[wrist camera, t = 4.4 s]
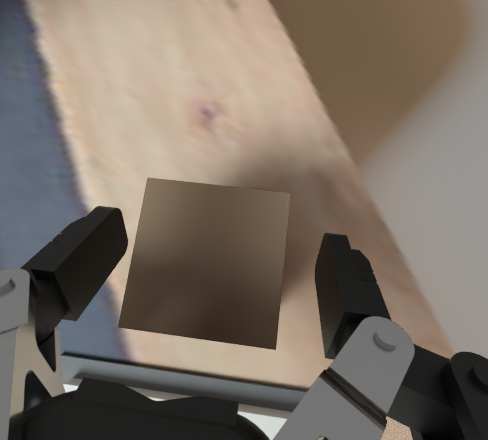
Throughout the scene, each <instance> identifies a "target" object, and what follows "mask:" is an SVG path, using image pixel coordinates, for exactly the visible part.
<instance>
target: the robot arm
mask: <svg viewBox="0 0 488 440" xmlns="http://www.w3.org/2000/svg"><path fill="white" fill-rule="evenodd" d="M127 246H128V238H127V234H126V229H125V225H124V220H123V216H122V212H121V210H120V209H119V208H112V207H104V206H98V207H96V208H95V209H94V210H93V211H91V212H90V213H89V214H88V215H87V216H86V217H82V218H80V219H79V220H77V221H75V222H73V223H71V224H69V225H68V226H67V227H66V228H65V229H64V230H63V231H62V232H61V234H58V235H57V236H56V237H55V238H54V239H53V241H52V242H49V243H48V244H47V245H46V246H45V247H44V248H43V249H41V250H40V251H39V252H38V253H37V254H36V255H35V256H34V257H32V258H31V259H30V260H29V261H28V262H27V263H26V264H25V265H24V266H22V267H21V268H20V269H18V268H14V269H6V270H2V271H0V440H270V439H269V437H268V436H267V435H266V434H265V433H264V432H263V431H262V430H261V429H260V428H259V427H258V426H257V425H256V424H254V423H253V422H252V421H250V420H249V419H247V418H246V417H244V416H242V415H240V414H238V405H239V402H236V401H230V400H224V399H217V398H211V397H205V396H194V397H186V398H178V399H170V400H163V401H155V400H152V399H150V398H148V397H146V396H144V395H142V394H141V393H139V392H137V391H135V390H133V389H131V388H129V387H127V386H125V385H123V384H121V383H116V382H109V381H103V380H97V379H90V378H83V380H82V381H81V383H80V385H79V386H78V388H77V390H74V391H70V392H65V389H64V386H63V382H62V375H61V357H60V338H59V329H58V327H57V325H58V324H59V322H60V321H61V320H62V319H65V320H72V321H77V320H78V318H79V317H80V315H81V314H82V313H83V311H84V310H85V308H86V307H87V306H88V304H89V303H90V301H91V300H92V299H93V297H94V296H95V295H96V293H97V292H98V290H99V289H100V288H101V286H102V285H103V283H104V282H105V281H106V279H107V278H108V276H109V275H110V274H111V272H112V271H113V269H114V268H115V267H116V265H117V264H118V263H119V261H120V260H121V258H122V257H123V256H124V254H125V252H126V250H127ZM376 282H377V281H376V278H375V276H374V274H373V270H372V268H371V265H370V262H369V260H368V259H367V258H366V257H365V256H364V255H363V254H362V253H361V251H360V250H353V249H351V247H350V244H349V241H348V238H347V236H346V235H340V234H331V233H325V234H324V237H323V240H322V243H321V247H320V251H319V254H318V258H317V261H316V266H315V284H316V291H317V299H318V307H319V314H320V322H321V330H322V337H323V345H324V353H325V358H328V359H334V361H333V362H332V364H331V365H330V366H329V368H328V369H327V370H324V371H323V372H322V373H321V374H320V375H319V376H318V378H317V379H316V381H315V382H314V383H313V385H312V386H311V387H310V389H309V390H308V392H307V393H306V394H305V396H304V397H303V398H302V400H301V401H300V403H299V404H298V405H297V407H296V408H295V409H294V411H293V412H292V414H291V415H290V416H289V418H288V419H287V420H286V422H285V423H284V425H283V426H282V427H281V429H280V430H279V432H278V433H277V434H276V436H275V437H274V438H273V440H380V439H381V437H382V435H383V433H384V430H385V427H386V424H387V420H386V416H388V417H390V418H392V419H394V420H396V421H398V422H400V423H402V424H404V425H406V426H408V427H410V430H411V434H412V438H413V440H488V359H486V358H484V357H482V356H480V355H478V354H475V353H471V352H459V353H456V354H455V355H454V356H453V357H452V358H451V359H447V358H445V357H443V356H440V355H438V354H435V353H433V352H430V351H428V350H426V349H423V348H421V347H419V346H417V345H415V344H413V342H412V340H411V338H410V336H409V335H408V334H407V333H406V331H405V330H404V329H403V328H401V327H400V326H399V325H398V324H396V323H395V322H393V321H392V320H391V318H390V315H389V313H388V310H387V307H386V305H385V302H384V299H383V297H382V294H381V291H380V289H379V286H378V284H377V283H376Z"/></svg>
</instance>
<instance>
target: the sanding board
mask: <svg viewBox="0 0 488 440" xmlns="http://www.w3.org/2000/svg"><path fill="white" fill-rule="evenodd" d="M60 357H61V375H62V382H63V386H64V389H65V392H70V391H74V390H77V388H78V386H79V385H80V383H81V381H82V380H83V378H90V379H97V380H103V381H109V382H116V383H121V384H123V385H125V386H127V387H129V388H131V389H133V390H135V391H137V392H139V393H141V394H142V395H144V396H146V397H148V398H150V399H152V400H155V401H163V400H170V399H178V398H186V397H194V396H205V397H211V398H217V399H224V400H230V401H236V402H239V405H238V414H240V415H242V416H244V417H246V418H247V419H249V420H250V421H252V422H253V423H254V424H256V425H257V426H258V427H259V428H260V429H261V430H262V431H263V432H264V433H265V434H266V435H267V436H268V437H269V439H270V440H273V438H274V437H275V436H276V434H277V433H278V432H279V430H280V429H281V427H282V426H283V425H284V423H285V422H286V420H287V419H288V418H289V416H290V415H291V414H292V412H293V411H294V409H295V408H296V407H297V405H298V404H299V403H300V401H301V400H302V398H303V397H304V396H305V394H306V393H307V392H308V391H303V390H296V389H289V388H283V387H276V386H270V385H263V384H256V383H250V382H243V381H236V380H230V379H223V378H216V377H210V376H203V375H197V374H190V373H183V372H177V371H170V370H163V369H157V368H150V367H144V366H137V365H130V364H124V363H117V362H110V361H104V360H97V359H90V358H84V357H77V356H71V355H64V354H61V355H60Z"/></svg>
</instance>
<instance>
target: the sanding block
mask: <svg viewBox="0 0 488 440" xmlns="http://www.w3.org/2000/svg"><path fill="white" fill-rule="evenodd" d="M290 197H291V193H286V192H276V191H267V190H258V189H249V188H239V187H230V186H221V185H212V184H202V183H193V182H184V181H175V180H165V179H156V178H147V183H146V188H145V193H144V198H143V203H142V208H141V214H140V219H139V224H138V229H137V234H136V239H135V244H134V249H133V254H132V259H131V264H130V269H129V274H128V279H127V285H126V290H125V295H124V300H123V305H122V310H121V315H120V320H119V325H118V327H120V328H127V329H134V330H141V331H148V332H155V333H162V334H169V335H176V336H183V337H190V338H197V339H204V340H211V341H218V342H225V343H232V344H239V345H246V346H253V347H260V348H267V349H274V350H276V342H277V332H278V322H279V311H280V301H281V291H282V280H283V270H284V259H285V249H286V239H287V228H288V218H289V208H290Z"/></svg>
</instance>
